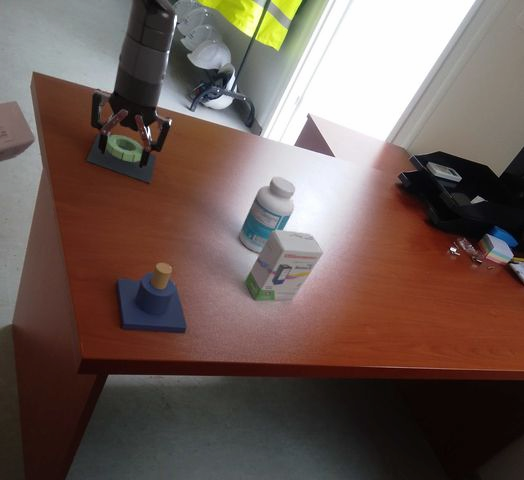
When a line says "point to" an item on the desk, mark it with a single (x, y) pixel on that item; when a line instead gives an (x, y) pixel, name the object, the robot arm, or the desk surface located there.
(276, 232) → the ink box
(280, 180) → the pill bottle
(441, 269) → the desk surface
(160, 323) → the stand
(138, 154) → the ring
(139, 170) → the mat
